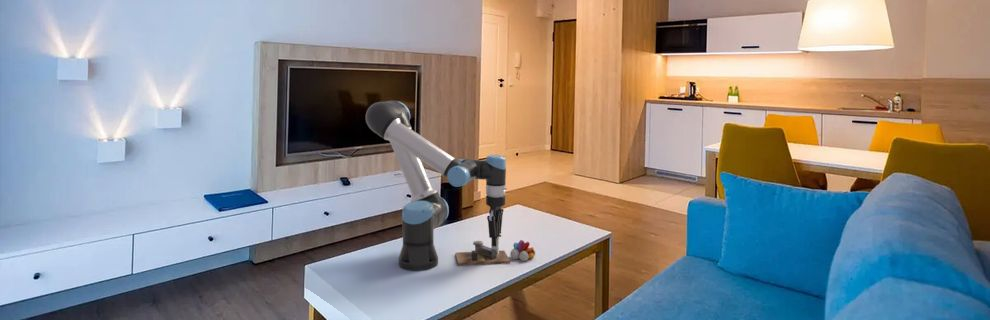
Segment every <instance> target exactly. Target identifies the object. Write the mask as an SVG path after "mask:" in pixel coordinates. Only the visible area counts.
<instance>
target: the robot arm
mask: <svg viewBox="0 0 990 320" xmlns="http://www.w3.org/2000/svg"><path fill="white" fill-rule="evenodd" d="M410 120H411V113H410V109H409V108H408V107H407V105H406V104H404V103H403V102H401V101H396V100H388V101H378V102H374V103H372V104H371V105H370V106H369V107H368V108H367V110H366V113H365V123H366V124H367V125H366V126H368V128H369V129H370V130H371V131H372V132H373V133H375V134H377V136H379V137H380V138H382V139H384V140H385V141H389V143H390V145H391V148H392V150H393V152H394V155H395V157H396V160H397V163H398V165H399V167H400V170H401V171H402V174H403V177H404V179H405V182H406V183H407V186H408V189H409V191H410V193H411V196H412V198H411V199H410V202H407V203H406V204H405V205H404V206H403V207H402V211H401V212H402V214H401V220H402V222H401V223H402V224H401V225H402V226H401V227H402V247H401V250H400V253H399V256H398V260H397V261H398V266H399V267H400V268H401V269H403V270H408V271H426V270H430V269H433V268H435V267H437V266H438V265H439V256H438V253H437V250H436V247H435V244H434V238H435V237H434V230H435V229H437V228H438V227H439V226H441V225H442V224H444V223H445V222H446V220H447V218H448V216H449V212H450V211H449V210H450V209H449V208H450V207H449V205H448V202H447V201H446V200H445V199H444V197H441V196H440V193H439V191H438V190H437V189H434V188H433V186H432V183H431V181H430V179H429V177H428V174H427V172H426V170H425V167H424V164H423V163H425V164H426V165H428V166H429V167H430V168H432V169H433V170H435V171H437V172H438V173H440V174H441V175H442V176H444V177H445V178H447V181H448V182H449V184H450V185H451V186H452V187H455V188H458V187H463V186H466V185H467V184H468V183H469V182H472V181H474V180H483V181H484V180H485V182H486V184H485V194H486V196H485V204H486V205H487V206H488V207H489V211H488V212H489V213H488V214H489V215H487V217H486V219H487V225H488V226H487V227H488V237H489V238H490V239H491V240H490V241H491V243H490V244H491V247H490V248H492V249H494V250H497V254H498V253H499V251H500V238H501V237H502V225H503V214H504V208H502V207H504V206H505V205H506V196H505V195H506V190H507V186H506V181H507V180H506V179H507V178H506V176H507V174H506V173H507V165H506V157H505V156H503V155H501V154H491V155H490V154H489V155H487V156H486V158H485V159H482V160H481V159H471V158H469V159H468V158H465V159H463V158H459V159H457V158H456V157H454V156H452V155H450V154H449V153H447V152H446V151H444V150H443V149H441V148H440V147H438V145H436V144H434V143H432V141H429V140H428V139H426V138H425V137H424V136H423V135H420V134H419V133H418V132H416V131H414V130H413V129H412V125H411V123H410Z"/></svg>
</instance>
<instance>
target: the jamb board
mask: <svg viewBox="0 0 990 320" xmlns="http://www.w3.org/2000/svg"><path fill="white" fill-rule="evenodd" d="M472 245H473V246H474V249H475V250H471V251H463V252H455V258H456V261H457V266H459V267H460V266H481V265H482V266H483V265H497V264H498V265H499V264H510V263H511V260H510V258H509V256H508V255H507V253H506V251H505V250H499V253H498V254H497V258H494V259H490V258H488V257H485V256H483V255H480V254H478V246H482V245H484V241H482V240H475V241H473V242H472Z"/></svg>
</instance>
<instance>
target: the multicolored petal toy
mask: <svg viewBox="0 0 990 320" xmlns="http://www.w3.org/2000/svg"><path fill="white" fill-rule="evenodd" d="M512 246H513V248H512V249H511V251H510V254H509V255H510V258H511V259H513V260H518V259H519V260H520V261H521V262H527V261H529V259H533V258H534V257H535V256H536V250H535V248H534V247H533V246H532V247H529V246H530V242H529V241H526V242H525V241H524V240H522V239H520V240H519V241H518V242H514V243H513V245H512Z"/></svg>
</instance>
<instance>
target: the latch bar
mask: <svg viewBox="0 0 990 320" xmlns="http://www.w3.org/2000/svg"><path fill="white" fill-rule="evenodd" d="M478 254H480V255H483V256H485V257H488V258H490V259H494V258H497V250H494V249H492V248H491V247H488V246H486V245H484V244H483V245H481V246H478Z"/></svg>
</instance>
